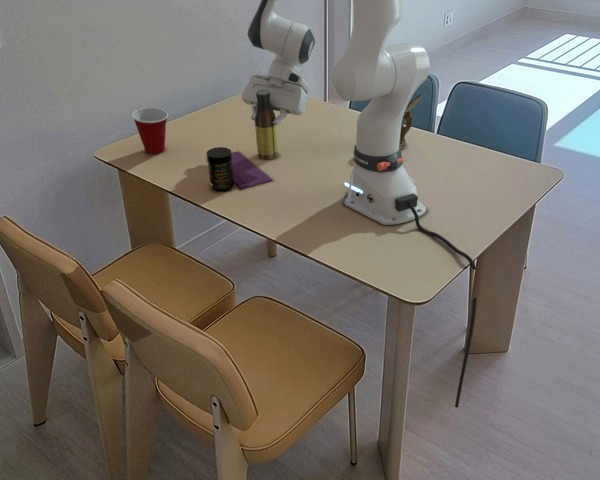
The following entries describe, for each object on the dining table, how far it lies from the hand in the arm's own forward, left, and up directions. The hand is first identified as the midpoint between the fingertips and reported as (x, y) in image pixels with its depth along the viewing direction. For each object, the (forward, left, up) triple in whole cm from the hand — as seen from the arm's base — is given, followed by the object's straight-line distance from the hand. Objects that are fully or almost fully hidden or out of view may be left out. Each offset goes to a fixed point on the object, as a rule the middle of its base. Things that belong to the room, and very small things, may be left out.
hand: (264, 122), depth 191 cm
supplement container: (-11, +20, -11) cm, 25 cm away
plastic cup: (+22, +27, -11) cm, 37 cm away
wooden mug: (-16, -37, -11) cm, 42 cm away
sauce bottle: (0, -1, -11) cm, 11 cm away
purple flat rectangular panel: (-4, +11, -11) cm, 16 cm away
